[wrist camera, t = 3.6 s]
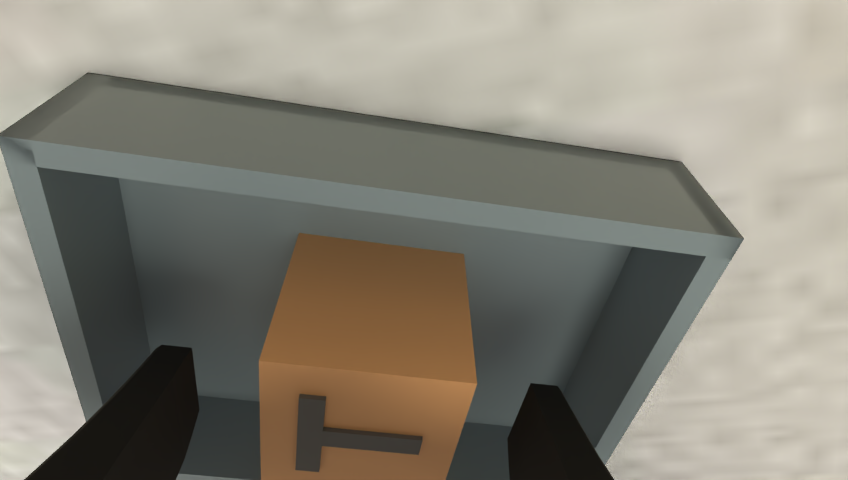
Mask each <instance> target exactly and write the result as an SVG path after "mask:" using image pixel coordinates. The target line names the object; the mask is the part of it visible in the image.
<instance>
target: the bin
mask: <svg viewBox="0 0 848 480" xmlns="http://www.w3.org/2000/svg"><path fill="white" fill-rule="evenodd" d="M0 147H1V150H2V154H3V157H4V160H5V163H6V166H7V170H8V173H9V176H10V179H11V182H12V186H13V189H14V192H15V195H16V198H17V202H18V205H19V208H20V211H21V214H22V218H23V221H24V224H25V227H26V230H27V234H28V237H29V240H30V243H31V246H32V250H33V253H34V256H35V259H36V262H37V266H38V269H39V272H40V275H41V278H42V282H43V285H44V288H45V291H46V294H47V297H48V301H49V304H50V307H51V310H52V313H53V317H54V320H55V323H56V326H57V329H58V333H59V336H60V339H61V342H62V345H63V349H64V352H65V355H66V358H67V361H68V365H69V368H70V371H71V374H72V377H73V381H74V384H75V387H76V390H77V393H78V397H79V400H80V403H81V406H82V409H83V413H84V416H85V419H86V422H87V421H88V420H89V419H90V418H91V417H92V416H93V415H94V414H95V413H96V412H97V411H98V410H99V409H100V408H101V407H102V406H103V405H104V404H105V403H106V402H107V401H108V400H109V399H110V398H111V397H112V396H113V395H114V393H115V392H116V391H117V390H118V389H119V388H120V387H121V386H122V385H123V384H124V383H125V382H126V381H127V380H128V379H129V378H130V377H131V375H132V374H133V373H134V372H135V371H136V370H137V369H138V368H139V367H140V366H141V365H142V363H143V362H144V361H145V360H146V359H147V358H148V357H149V356H150V355H151V353H152V352H153V351H154V350H155V349H156V348H157V347H159V346H160V345H170V346H180V347H190V348H192V352H193V360H194V368H195V377H196V385H197V393H198V402H199V413H198V417H197V420H196V424H195V427H194V430H193V434H192V437H191V440H190V444H189V447H188V450H187V453H186V456H185V459H184V462H183V464H182V466H181V469H180V471H179V474H178V476H177V478H176V480H261V456H260V399H259V359H260V356H261V352H262V349H263V346H264V343H265V340H266V336H267V333H268V330H269V327H270V324H271V321H272V317H273V314H274V311H275V308H276V305H277V302H278V298H279V295H280V292H281V289H282V286H283V282H284V279H285V276H286V273H287V270H288V267H289V263H290V260H291V257H292V254H293V251H294V248H295V244H296V241H297V238H298V235H299V233H304V234H312V235H320V236H328V237H335V238H343V239H351V240H359V241H367V242H374V243H382V244H390V245H398V246H406V247H413V248H421V249H429V250H437V251H444V252H452V253H460V254H464V259H465V269H466V279H467V289H468V298H469V308H470V318H471V328H472V338H473V348H474V357H475V367H476V377H477V386H476V389H475V392H474V395H473V398H472V401H471V404H470V407H469V410H468V413H467V416H466V419H465V422H464V425H463V428H462V431H461V434H460V437H459V441H458V444H457V447H456V450H455V453H454V456H453V459H452V462H451V465H450V468H449V471H448V474H447V477H446V480H510V477H509V462H508V442H507V438H508V436H509V433H510V431H511V429H512V426H513V424H514V422H515V419H516V417H517V414H518V412H519V410H520V407H521V405H522V402H523V400H524V398H525V395H526V393H527V390H528V388H529V386H530V383H535V384H545V385H555V386H558V387H559V388H560V390H561V391H562V393H563V395H564V397H565V399H566V400H567V402H568V404H569V406H570V407H571V409H572V411H573V413H574V414H575V416H576V418H577V420H578V421H579V423H580V425H581V427H582V428H583V430H584V432H585V433H586V435H587V437H588V438H589V440H590V442H591V444H592V445H593V447H594V449H595V450H596V452H597V453H598V455H599V457H600V458H601V460H602V462H603V463H604V465H605V464H606V462H607V461H608V459H609V458H610V456H611V454H612V453H613V451H614V449H615V448H616V446H617V445H618V443H619V441H620V440H621V438H622V436H623V435H624V433H625V432H626V430H627V428H628V427H629V425H630V423H631V422H632V420H633V419H634V417H635V415H636V414H637V412H638V410H639V409H640V407H641V406H642V404H643V402H644V401H645V399H646V397H647V396H648V394H649V392H650V391H651V389H652V388H653V386H654V384H655V383H656V381H657V379H658V378H659V376H660V375H661V373H662V371H663V370H664V368H665V366H666V365H667V363H668V362H669V360H670V358H671V357H672V355H673V353H674V352H675V350H676V349H677V347H678V345H679V344H680V342H681V340H682V339H683V337H684V336H685V334H686V332H687V331H688V329H689V327H690V326H691V324H692V322H693V321H694V319H695V318H696V316H697V314H698V313H699V311H700V309H701V308H702V306H703V305H704V303H705V301H706V300H707V298H708V296H709V295H710V293H711V292H712V290H713V288H714V287H715V285H716V283H717V282H718V280H719V279H720V277H721V275H722V274H723V272H724V270H725V269H726V267H727V266H728V264H729V262H730V261H731V259H732V257H733V256H734V254H735V252H736V251H737V249H738V248H739V246H740V244H741V243H742V241H743V239H744V238H743V237H742V236H741V234H740V233H739V232H738V231H737V229H736V228H735V227H734V226H733V224H732V223H731V222H730V221H729V220H728V218H727V217H726V216H725V215H724V213H723V212H722V211H721V210H720V208H719V207H718V206H717V205H716V204H715V202H714V201H713V200H712V199H711V197H710V196H709V195H708V194H707V192H706V191H705V190H704V189H703V188H702V186H701V185H700V184H699V183H698V181H697V180H696V179H695V178H694V176H693V175H692V174H691V173H690V172H689V170H688V169H687V168H686V167H685V165H684V164H683V163H682V162H677V161H670V160H663V159H657V158H650V157H643V156H637V155H630V154H623V153H617V152H610V151H604V150H597V149H590V148H584V147H577V146H570V145H564V144H557V143H550V142H544V141H537V140H530V139H524V138H517V137H510V136H504V135H497V134H491V133H484V132H477V131H471V130H464V129H457V128H451V127H444V126H437V125H431V124H424V123H417V122H411V121H404V120H397V119H391V118H384V117H378V116H371V115H364V114H358V113H351V112H344V111H338V110H331V109H324V108H318V107H311V106H304V105H298V104H291V103H284V102H278V101H271V100H265V99H258V98H251V97H245V96H238V95H231V94H225V93H218V92H211V91H205V90H198V89H191V88H185V87H178V86H171V85H165V84H158V83H152V82H145V81H138V80H132V79H125V78H118V77H112V76H105V75H98V74H92V73H87V74H85V75H84V76H82V77H81V78H80V79H78V80H77V81H75V82H74V83H72V84H71V85H69V86H68V87H67V88H65V89H64V90H62V91H61V92H59V93H58V94H56V95H55V96H53V97H52V98H51V99H49V100H48V101H46V102H45V103H43V104H42V105H40V106H39V107H37V108H36V109H35V110H33V111H32V112H30V113H29V114H27V115H26V116H24V117H23V118H22V119H20V120H19V121H17V122H16V123H14V124H13V125H11V126H10V127H8V128H7V129H6V130H4V131H3V132H1V133H0Z"/></svg>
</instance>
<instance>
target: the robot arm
mask: <svg viewBox="0 0 848 480" xmlns="http://www.w3.org/2000/svg"><path fill="white" fill-rule="evenodd" d="M198 413H199V402H198V393H197V385H196V377H195V368H194V360H193V352H192V348H190V347H180V346H170V345H160V346H159V347H157V348H156V349H155V350H154V351H153V352H152V353H151V355H150V356H149V357H148V358H147V359H146V360H145V361H144V362H143V363H142V365H141V366H140V367H139V368H138V369H137V370H136V371H135V372H134V373H133V374H132V375H131V377H130V378H129V379H128V380H127V381H126V382H125V383H124V384H123V385H122V386H121V387H120V388H119V389H118V390H117V391H116V392H115V393H114V395H113V396H112V397H111V398H110V399H109V400H108V401H107V402H106V403H105V404H104V405H103V406H102V407H101V408H100V409H99V410H98V411H97V412H96V413H95V414H94V415H93V416H92V417H91V418H90V419H89V420H88V421H87V422H86V423H85V424H84V425H83V426H82V427H81V428H80V429H79V430H78V431H77V432H76V433H75V434H74V435H73V436H71V437H70V438H69V439H68V440H67V441H66V442H65V443H64V444H63V445H62V446H61V447H60V448H59V449H57V450H56V451H55V452H54V453H53V454H52V455H51V456H50V457H49V458H48V459H46V460H45V461H44V462H43V463H42V464H41V465H40V466H39V467H38V468H37V469H36V470H34V471H33V472H32V473H31V474H30V475H29V476H28V477H27V478H25V479H24V480H176V478H177V476H178V474H179V471H180V469H181V466H182V464H183V462H184V459H185V456H186V453H187V450H188V447H189V444H190V440H191V437H192V434H193V430H194V427H195V424H196V420H197V417H198ZM507 442H508V462H509V477H510V480H614V479H613V477H612V476H611V474H610V473H609V471H608V469H607V468H606V466H605V465H604V463H603V462H602V460H601V458H600V457H599V455H598V453H597V452H596V450H595V449H594V447H593V445H592V444H591V442H590V440H589V438H588V437H587V435H586V433H585V432H584V430H583V428H582V427H581V425H580V423H579V421H578V420H577V418H576V416H575V414H574V413H573V411H572V409H571V407H570V406H569V404H568V402H567V400H566V399H565V397H564V395H563V393H562V391H561V390H560V388H559V387H558V386H555V385H545V384H535V383H530V386H529V388H528V390H527V393H526V395H525V398H524V400H523V402H522V405H521V407H520V410H519V412H518V414H517V417H516V419H515V422H514V424H513V426H512V429H511V431H510V433H509V436H508V438H507Z"/></svg>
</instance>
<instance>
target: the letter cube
mask: <svg viewBox="0 0 848 480" xmlns="http://www.w3.org/2000/svg"><path fill="white" fill-rule="evenodd" d="M476 386H477V377H476V367H475V357H474V348H473V338H472V328H471V318H470V308H469V298H468V289H467V279H466V269H465V259H464V254H460V253H452V252H444V251H437V250H429V249H421V248H413V247H406V246H398V245H390V244H382V243H374V242H367V241H359V240H351V239H343V238H335V237H328V236H320V235H312V234H304V233H299V235H298V238H297V241H296V244H295V248H294V251H293V254H292V257H291V260H290V263H289V267H288V270H287V273H286V276H285V279H284V282H283V286H282V289H281V292H280V295H279V298H278V302H277V305H276V308H275V311H274V314H273V317H272V321H271V324H270V327H269V330H268V333H267V336H266V340H265V343H264V346H263V349H262V352H261V356H260V359H259V399H260V456H261V480H446V477H447V474H448V471H449V468H450V465H451V462H452V459H453V456H454V453H455V450H456V447H457V444H458V441H459V437H460V434H461V431H462V428H463V425H464V422H465V419H466V416H467V413H468V410H469V407H470V404H471V401H472V398H473V395H474V392H475V389H476Z"/></svg>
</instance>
